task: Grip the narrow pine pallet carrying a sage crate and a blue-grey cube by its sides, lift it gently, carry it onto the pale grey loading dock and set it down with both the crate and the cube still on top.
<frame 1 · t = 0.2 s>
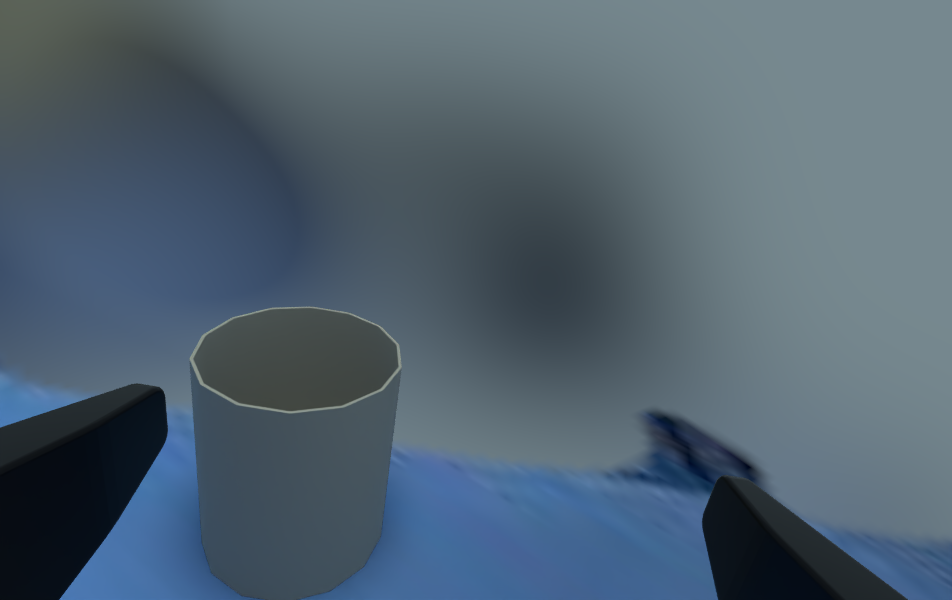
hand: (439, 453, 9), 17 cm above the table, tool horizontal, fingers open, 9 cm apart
cup: (296, 526, 27), on the table
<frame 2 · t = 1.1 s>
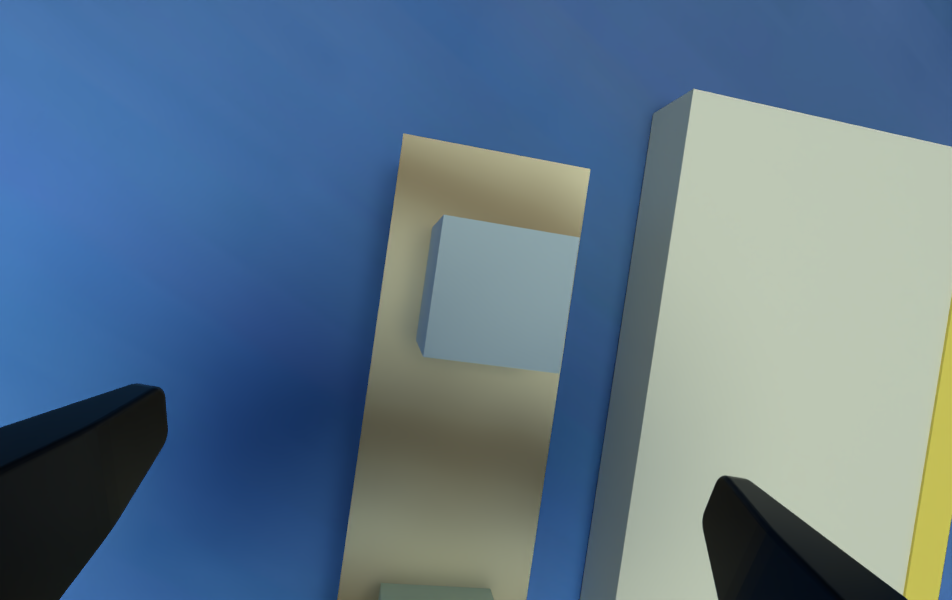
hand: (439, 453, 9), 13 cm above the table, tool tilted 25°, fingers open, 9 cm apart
dock: (758, 414, 24), on the table
blue-grey cube: (479, 292, 17), point 5 cm above the table, touching pallet
pallet: (438, 424, 22), on the table, touching blue-grey cube, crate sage
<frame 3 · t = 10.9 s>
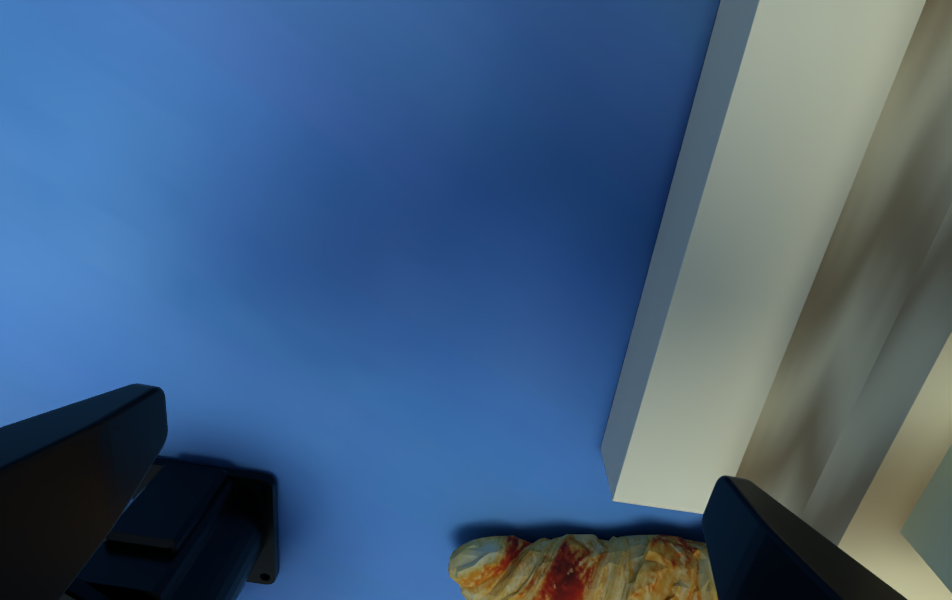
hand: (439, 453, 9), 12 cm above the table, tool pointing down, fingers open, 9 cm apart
dock: (889, 186, 18), on the table
croissant: (663, 585, 26), on the table
pallet: (939, 241, 15), point 3 cm above the table, touching blue-grey cube, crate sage, dock
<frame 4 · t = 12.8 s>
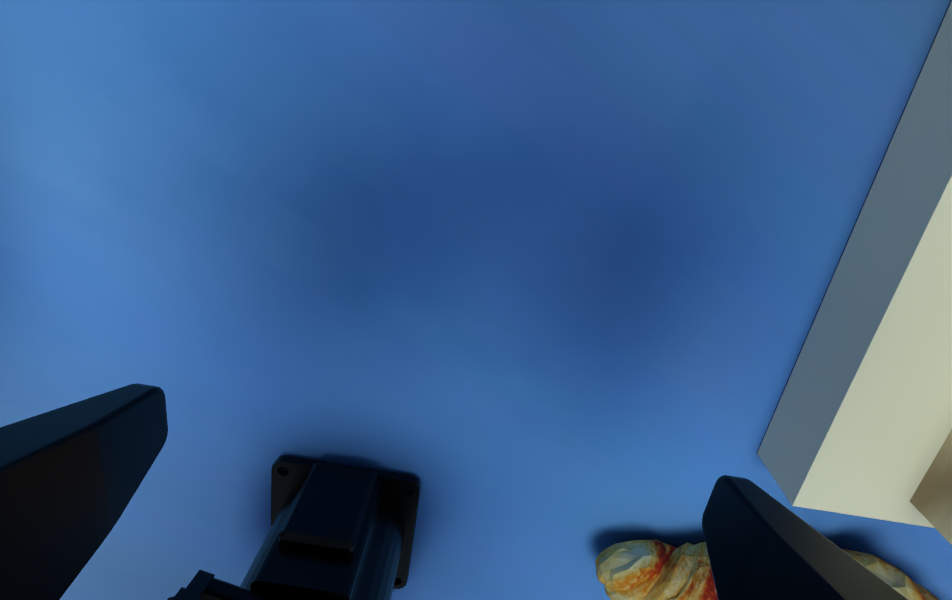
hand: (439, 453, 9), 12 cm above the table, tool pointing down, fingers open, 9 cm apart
croissant: (791, 593, 26), on the table
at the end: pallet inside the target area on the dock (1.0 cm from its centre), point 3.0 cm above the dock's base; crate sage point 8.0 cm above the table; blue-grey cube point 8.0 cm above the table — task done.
